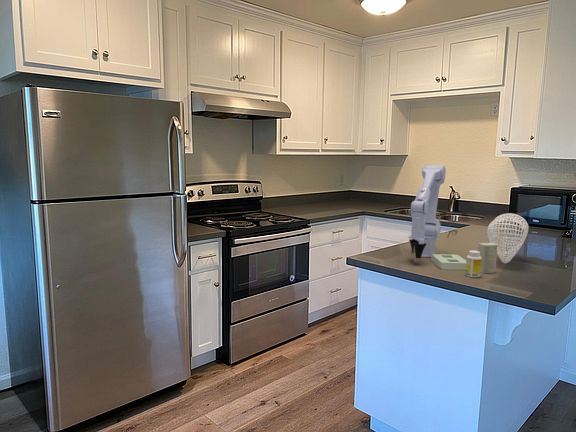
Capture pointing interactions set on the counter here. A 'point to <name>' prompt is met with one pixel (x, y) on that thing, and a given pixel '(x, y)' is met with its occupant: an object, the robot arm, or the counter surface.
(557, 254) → the counter surface
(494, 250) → the skincare box
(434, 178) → the robot arm
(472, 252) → the supplement bottle
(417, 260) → the dowel
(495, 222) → the heart
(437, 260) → the board
